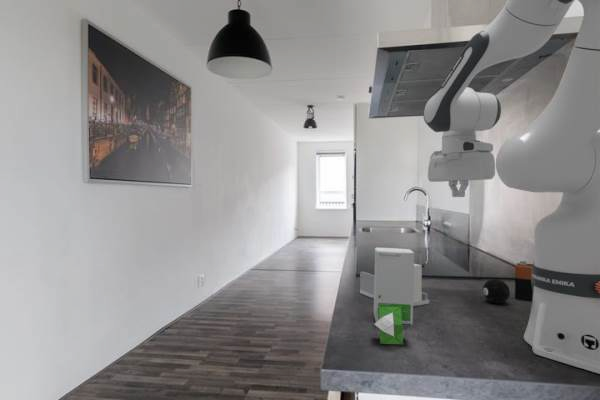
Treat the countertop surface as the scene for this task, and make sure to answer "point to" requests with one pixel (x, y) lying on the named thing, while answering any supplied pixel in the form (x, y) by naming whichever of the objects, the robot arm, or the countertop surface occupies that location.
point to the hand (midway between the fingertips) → (458, 197)
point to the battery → (523, 281)
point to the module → (417, 283)
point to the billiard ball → (496, 291)
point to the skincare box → (394, 281)
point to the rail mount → (368, 288)
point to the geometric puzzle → (390, 325)
